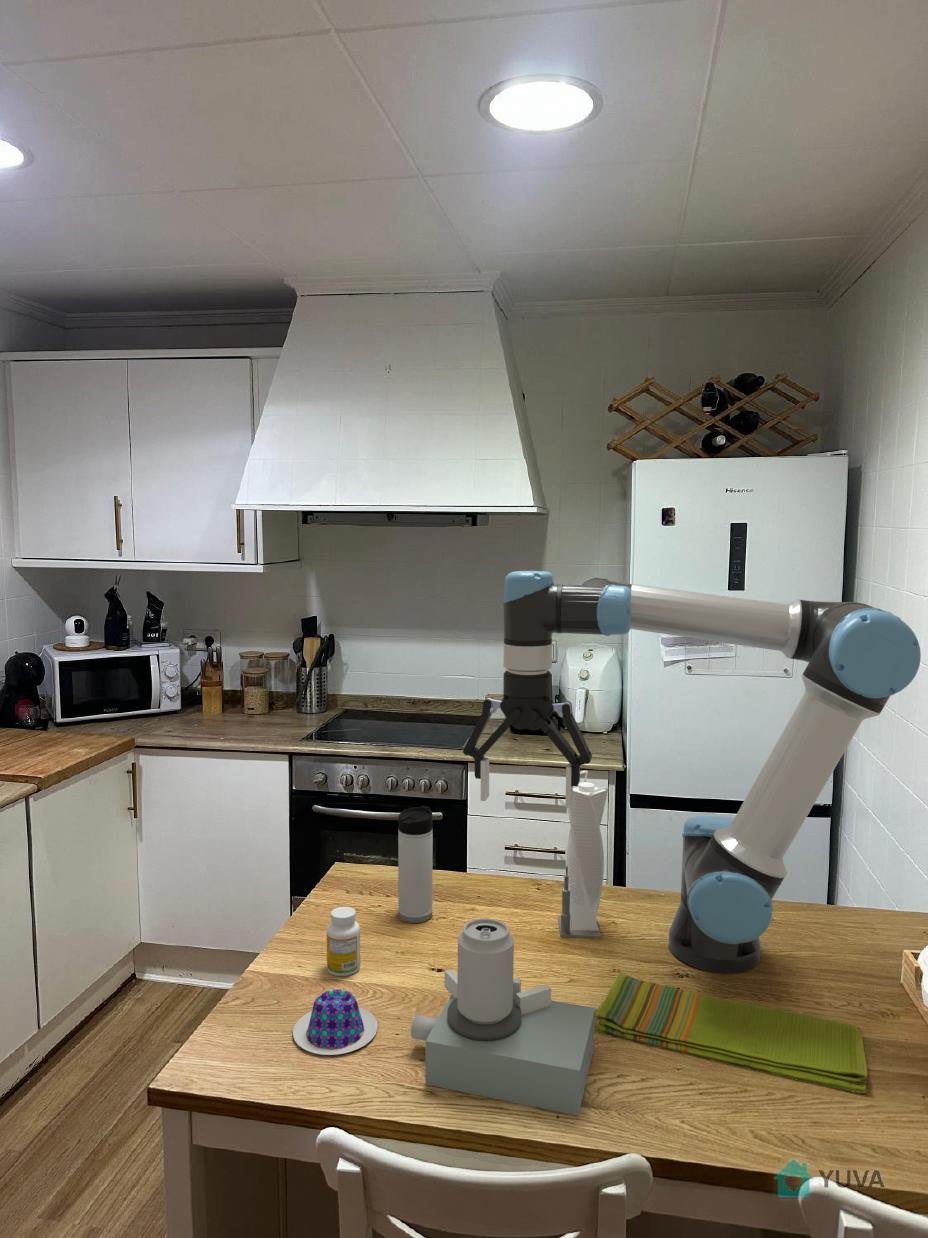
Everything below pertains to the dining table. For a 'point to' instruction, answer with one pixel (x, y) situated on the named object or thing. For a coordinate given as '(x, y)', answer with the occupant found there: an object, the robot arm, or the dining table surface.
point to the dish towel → (735, 1033)
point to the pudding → (335, 1024)
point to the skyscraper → (583, 863)
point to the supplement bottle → (343, 942)
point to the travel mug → (415, 864)
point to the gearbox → (512, 1050)
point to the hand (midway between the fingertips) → (526, 802)
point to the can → (485, 971)
